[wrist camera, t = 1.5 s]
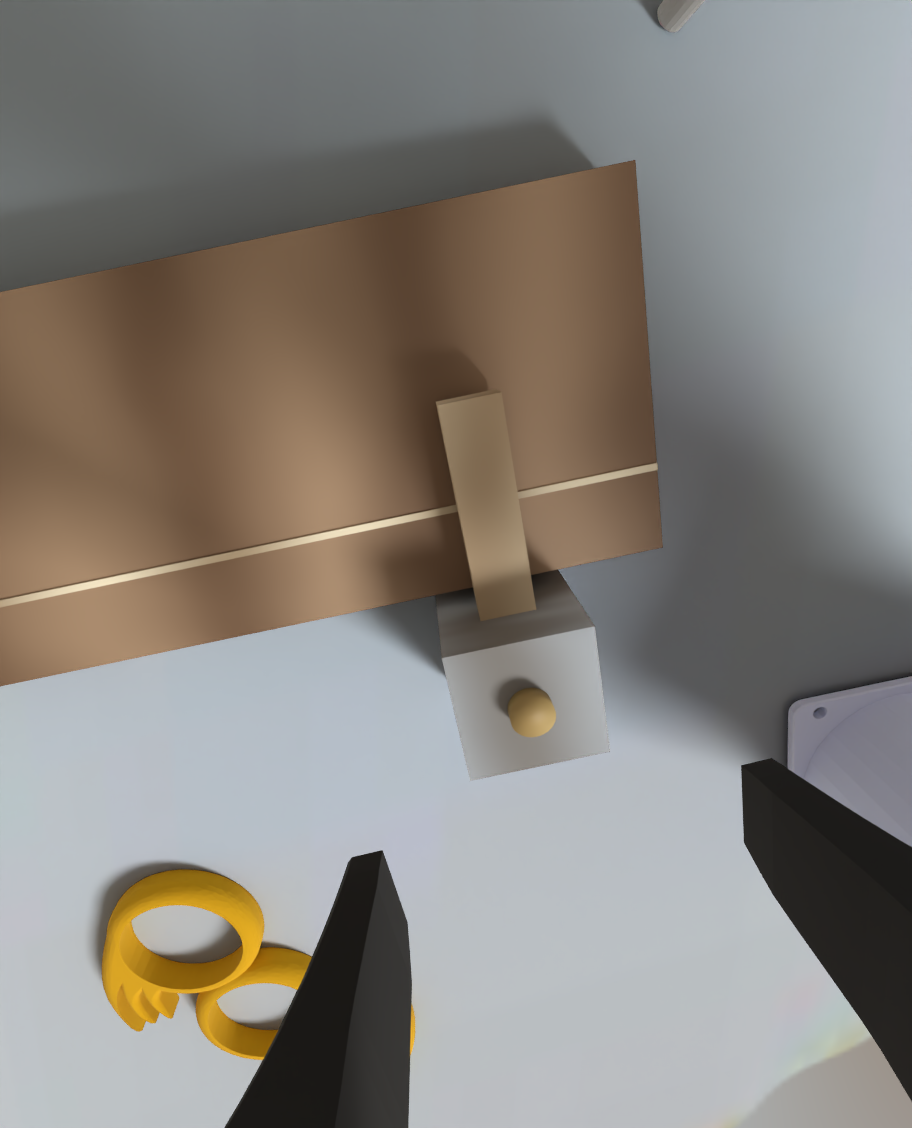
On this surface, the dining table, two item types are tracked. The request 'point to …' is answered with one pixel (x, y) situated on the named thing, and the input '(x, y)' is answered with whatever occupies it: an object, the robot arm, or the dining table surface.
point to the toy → (676, 13)
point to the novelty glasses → (153, 981)
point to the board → (316, 419)
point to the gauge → (511, 618)
